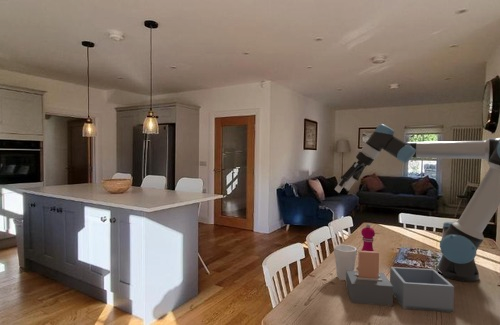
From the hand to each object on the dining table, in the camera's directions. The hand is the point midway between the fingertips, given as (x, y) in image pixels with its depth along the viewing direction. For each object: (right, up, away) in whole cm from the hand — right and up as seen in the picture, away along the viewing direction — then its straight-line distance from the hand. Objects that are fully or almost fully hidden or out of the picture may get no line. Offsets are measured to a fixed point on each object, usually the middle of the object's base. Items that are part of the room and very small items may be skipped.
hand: (341, 189), depth 149 cm
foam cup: (-5, -37, -19) cm, 41 cm away
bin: (+17, -37, -39) cm, 56 cm away
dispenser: (-1, -37, -36) cm, 51 cm away
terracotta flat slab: (-1, -35, -36) cm, 50 cm away
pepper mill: (+11, -36, -5) cm, 38 cm away
